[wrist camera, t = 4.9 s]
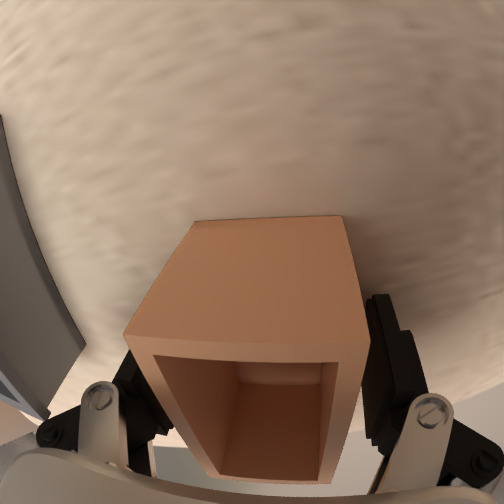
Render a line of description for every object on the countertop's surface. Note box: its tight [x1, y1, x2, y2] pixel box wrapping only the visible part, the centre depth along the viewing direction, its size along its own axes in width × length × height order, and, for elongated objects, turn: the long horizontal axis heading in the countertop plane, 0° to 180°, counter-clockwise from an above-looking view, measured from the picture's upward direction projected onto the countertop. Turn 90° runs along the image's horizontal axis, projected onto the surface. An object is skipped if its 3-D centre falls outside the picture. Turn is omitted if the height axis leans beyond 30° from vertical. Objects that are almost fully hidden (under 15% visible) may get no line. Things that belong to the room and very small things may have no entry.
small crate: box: [123, 216, 371, 484], centre depth 9 cm, size 4×8×5 cm, turn 6°
